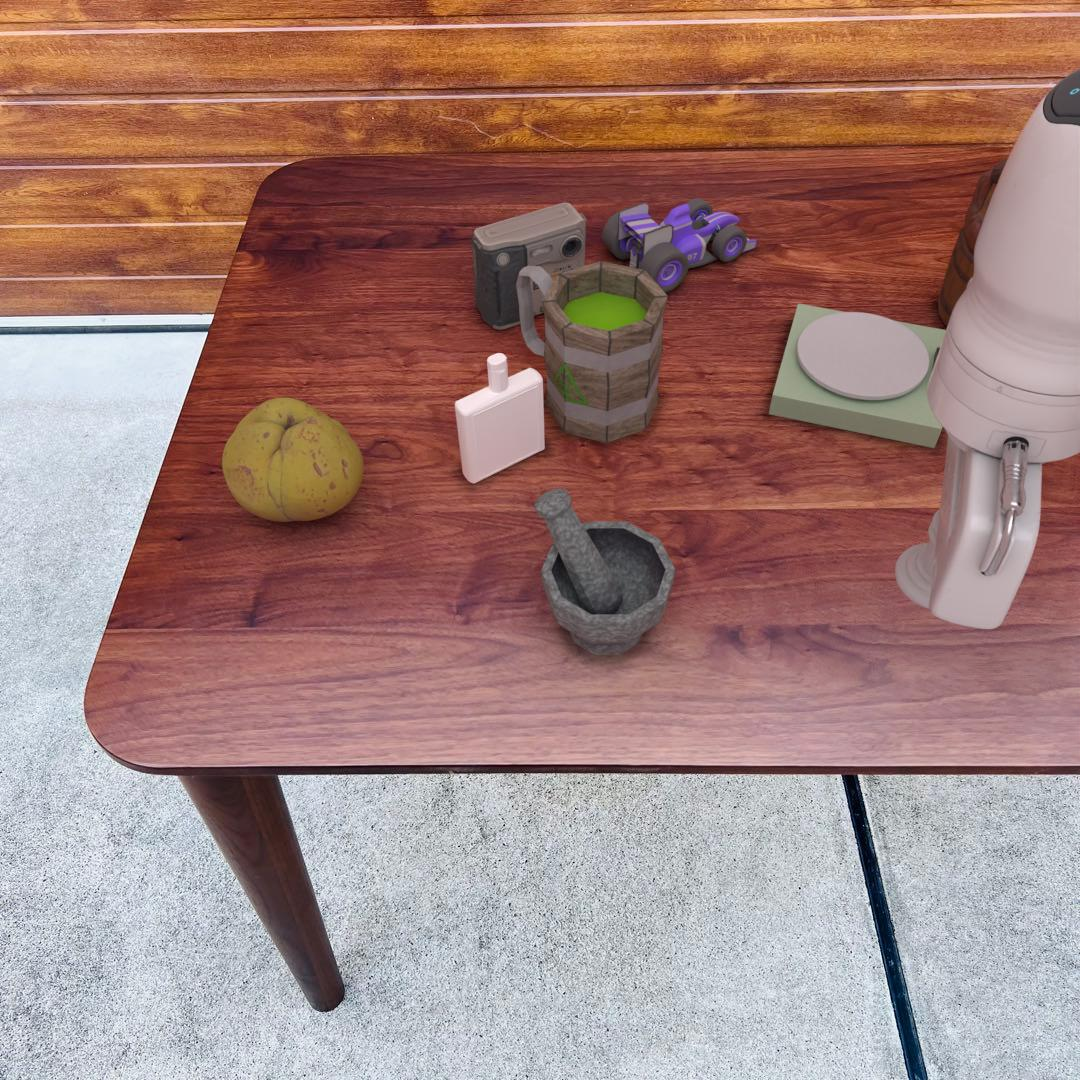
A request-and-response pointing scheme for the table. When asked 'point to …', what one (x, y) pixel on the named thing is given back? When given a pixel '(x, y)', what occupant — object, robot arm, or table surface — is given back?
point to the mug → (597, 346)
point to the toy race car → (674, 240)
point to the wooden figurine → (967, 244)
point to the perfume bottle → (500, 421)
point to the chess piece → (918, 567)
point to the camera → (523, 258)
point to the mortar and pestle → (602, 577)
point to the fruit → (291, 462)
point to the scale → (859, 374)
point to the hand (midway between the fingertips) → (950, 548)
